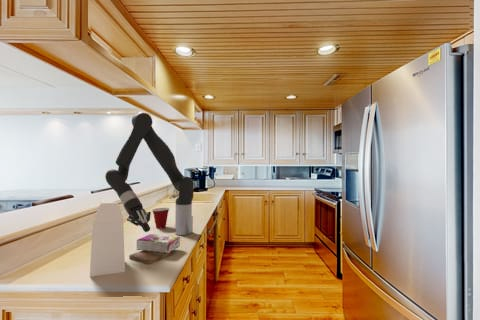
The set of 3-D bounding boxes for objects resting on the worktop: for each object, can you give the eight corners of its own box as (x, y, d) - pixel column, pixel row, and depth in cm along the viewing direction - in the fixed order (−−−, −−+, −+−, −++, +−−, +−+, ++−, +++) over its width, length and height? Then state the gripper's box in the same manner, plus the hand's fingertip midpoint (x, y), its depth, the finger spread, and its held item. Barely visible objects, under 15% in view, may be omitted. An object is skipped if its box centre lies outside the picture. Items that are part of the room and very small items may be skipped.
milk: (89, 276, 100) (90, 205, 100) (92, 265, 111) (93, 201, 111) (125, 271, 105) (125, 203, 105) (124, 261, 116) (125, 199, 116)
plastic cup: (158, 224, 180) (158, 206, 180) (172, 226, 177) (172, 207, 177) (147, 228, 170) (148, 209, 170) (162, 230, 167) (163, 210, 167)
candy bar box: (150, 233, 136) (180, 236, 132) (150, 243, 136) (180, 246, 132) (136, 239, 125) (168, 242, 121) (136, 250, 125) (168, 254, 121)
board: (154, 249, 131) (154, 246, 131) (172, 254, 125) (172, 250, 125) (129, 258, 119) (129, 255, 119) (148, 264, 113) (148, 260, 113)
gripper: (122, 198, 126) (140, 229, 120) (145, 195, 138) (162, 223, 132) (115, 209, 129) (132, 239, 123) (138, 205, 140) (155, 232, 134)
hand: (148, 230), depth 127 cm, fingers closed
